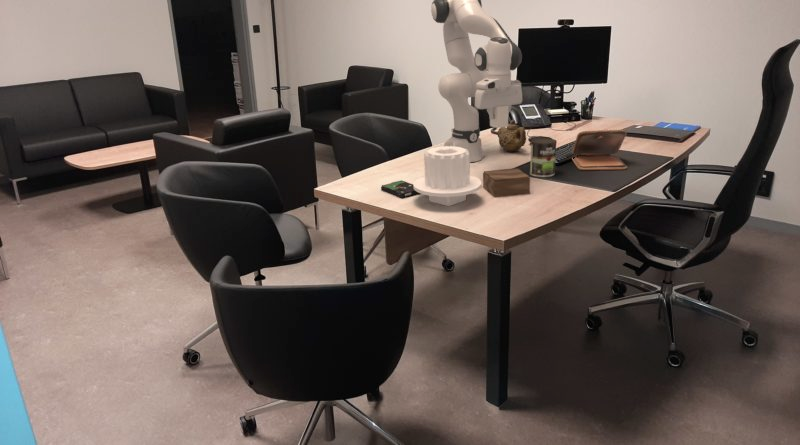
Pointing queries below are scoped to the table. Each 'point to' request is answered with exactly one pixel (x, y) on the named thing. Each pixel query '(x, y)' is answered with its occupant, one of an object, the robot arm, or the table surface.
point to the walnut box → (506, 182)
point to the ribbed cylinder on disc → (447, 176)
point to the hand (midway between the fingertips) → (499, 118)
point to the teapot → (512, 137)
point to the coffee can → (543, 157)
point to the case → (599, 150)
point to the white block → (500, 117)
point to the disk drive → (400, 189)
